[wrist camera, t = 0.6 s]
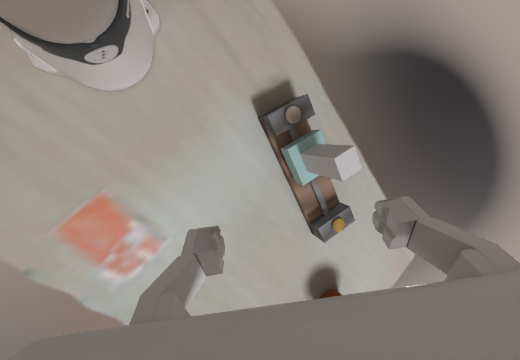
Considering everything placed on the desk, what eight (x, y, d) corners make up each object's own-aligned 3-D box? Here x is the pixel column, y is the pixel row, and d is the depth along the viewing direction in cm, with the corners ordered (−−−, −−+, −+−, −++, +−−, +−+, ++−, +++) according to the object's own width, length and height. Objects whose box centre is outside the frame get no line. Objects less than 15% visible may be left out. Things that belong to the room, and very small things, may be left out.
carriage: (280, 148, 43) (318, 153, 31) (312, 130, 45) (360, 127, 33) (295, 182, 46) (336, 198, 34) (325, 163, 48) (374, 172, 35)
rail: (258, 118, 44) (268, 115, 38) (294, 98, 45) (309, 93, 40) (312, 233, 53) (326, 243, 48) (340, 213, 55) (356, 221, 50)
